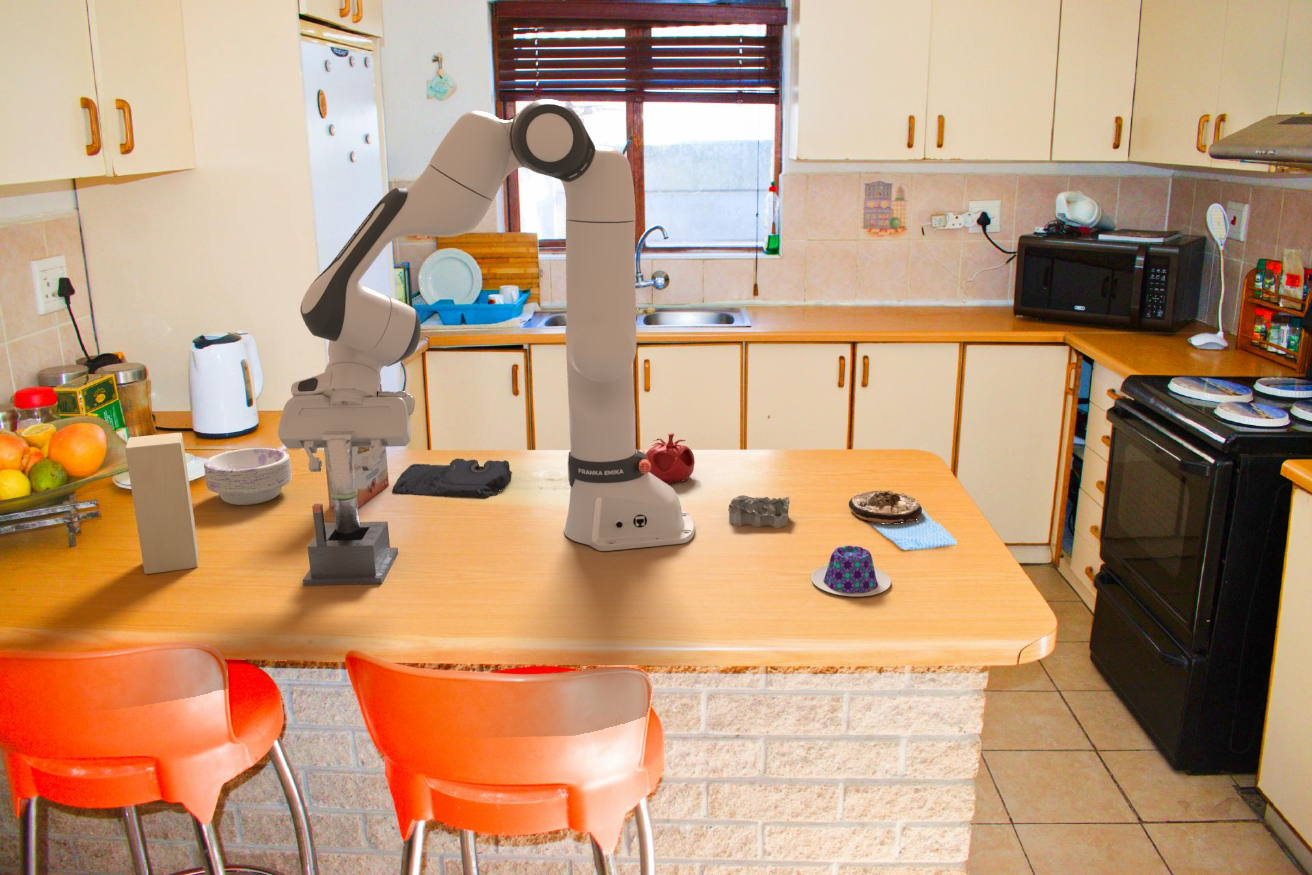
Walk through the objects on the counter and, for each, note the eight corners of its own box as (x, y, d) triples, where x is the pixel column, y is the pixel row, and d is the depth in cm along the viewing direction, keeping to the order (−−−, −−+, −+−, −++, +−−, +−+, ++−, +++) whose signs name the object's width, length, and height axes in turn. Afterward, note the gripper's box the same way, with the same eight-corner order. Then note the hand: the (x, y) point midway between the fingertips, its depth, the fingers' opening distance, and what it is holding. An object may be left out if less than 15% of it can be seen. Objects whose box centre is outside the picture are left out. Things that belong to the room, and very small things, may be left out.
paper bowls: (305, 483, 207) (300, 445, 204) (276, 511, 192) (271, 470, 190) (229, 484, 207) (223, 446, 205) (194, 511, 193) (188, 470, 190)
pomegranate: (638, 474, 210) (636, 430, 207) (685, 468, 213) (684, 424, 210) (653, 489, 201) (651, 442, 198) (702, 482, 204) (701, 437, 201)
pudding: (794, 580, 161) (795, 548, 160) (850, 561, 168) (852, 531, 166) (850, 608, 152) (851, 575, 150) (907, 587, 158) (909, 555, 157)
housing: (398, 553, 173) (391, 481, 169) (381, 583, 161) (374, 507, 157) (325, 554, 172) (317, 483, 169) (303, 585, 161) (294, 509, 157)
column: (365, 524, 167) (355, 429, 162) (359, 533, 163) (349, 436, 158) (337, 524, 167) (327, 429, 162) (330, 534, 163) (319, 436, 158)
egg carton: (725, 526, 183) (725, 504, 181) (732, 511, 190) (732, 490, 188) (786, 530, 180) (787, 508, 179) (791, 515, 187) (791, 493, 186)
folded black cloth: (415, 471, 215) (413, 449, 213) (518, 475, 211) (517, 452, 210) (385, 496, 200) (383, 473, 199) (496, 501, 197) (495, 477, 196)
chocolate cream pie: (863, 533, 179) (864, 510, 178) (830, 504, 193) (831, 483, 192) (942, 525, 182) (944, 502, 181) (904, 497, 196) (905, 476, 195)
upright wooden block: (200, 550, 175) (182, 430, 169) (199, 567, 168) (180, 442, 162) (148, 558, 172) (127, 436, 166) (144, 575, 165) (123, 448, 159)
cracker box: (358, 510, 192) (347, 400, 186) (328, 508, 193) (316, 399, 187) (391, 485, 205) (382, 381, 199) (363, 483, 206) (353, 380, 200)
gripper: (419, 401, 171) (412, 477, 164) (293, 403, 170) (281, 479, 164) (411, 381, 165) (404, 459, 159) (281, 383, 165) (268, 461, 158)
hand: (340, 469), depth 161 cm, fingers open, 7 cm apart
